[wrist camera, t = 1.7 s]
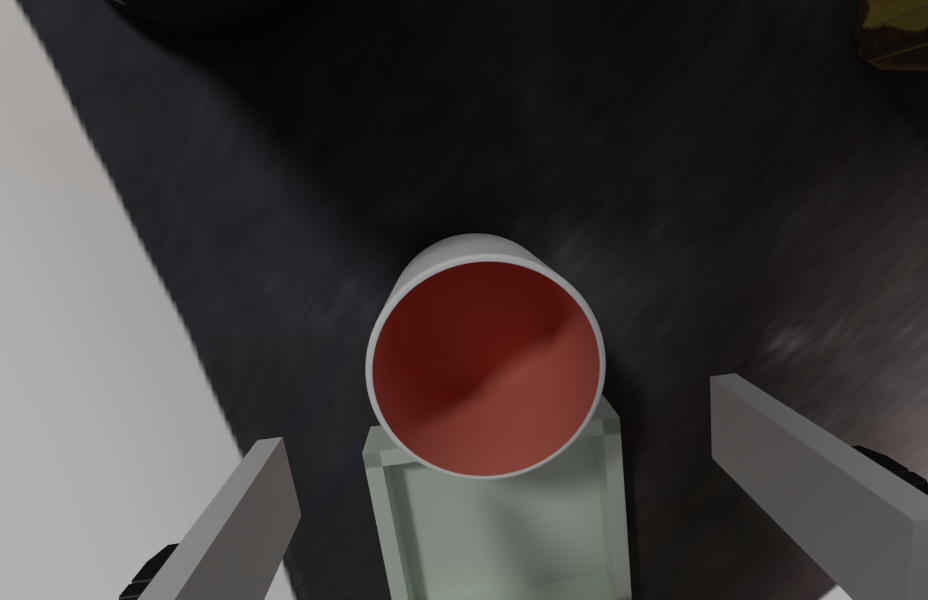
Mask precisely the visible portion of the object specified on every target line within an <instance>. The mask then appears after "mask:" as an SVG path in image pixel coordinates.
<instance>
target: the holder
mask: <svg viewBox="0 0 928 600" xmlns="http://www.w3.org/2000/svg"><path fill="white" fill-rule="evenodd" d="M362 454H363V459H364V464H365V469H366V474H367V479H368V484H369V489H370V494H371V499H372V504H373V509H374V514H375V519H376V523H377V528H378V533H379V538H380V543H381V548H382V553H383V558H384V563H385V568H386V573H387V578H388V583H389V588H390V593H391V598H392V600H632V596H631V581H630V566H629V551H628V536H627V521H626V506H625V491H624V476H623V460H622V445H621V430H620V417H619V416H618V415H617V413H616V412H615V411H614V409H613V408H612V407H611V405H610V404H609V403H608V401H607V400H606V399H605V397H604V396H603V395H601V397H600V400H599V403H598V405H597V408H596V410H595V412H594V414H593V416H592V418H591V420H590V421H589V423H588V425H587V426H586V427H585V429H584V430H583V432H582V433H581V434H580V435H579V437H578V438H577V439H576V440H575V441H574V442H573V443H572V444H571V445H570V446H569V447H568V448H567V449H566V450H565V451H564V452H562V453H561V454H560V455H558V456H557V457H555V458H554V459H553V460H551V461H549V462H548V463H546V464H544V465H542V466H541V467H539V468H536V469H534V470H532V471H530V472H527V473H524V474H521V475H518V476H514V477H509V478H505V479H497V480H468V479H462V478H456V477H452V476H448V475H445V474H442V473H439V472H437V471H434V470H432V469H430V468H428V467H426V466H424V465H422V464H420V463H419V462H417V461H416V460H414V459H413V458H411V457H410V456H409V455H407V454H406V453H405V452H404V451H403V450H401V449H400V448H399V447H398V446H397V445H396V444H395V443H394V442H393V440H392V439H391V438H390V437H389V436H388V434H387V433H386V432H385V430H384V429H383V427H382V425H381V426H374V427H370V431H369V434H368V437H367V440H366V443H365V447H364V450H363V453H362Z"/></svg>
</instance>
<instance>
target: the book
mask: <svg viewBox="0 0 928 600" xmlns="http://www.w3.org/2000/svg"><path fill="white" fill-rule="evenodd" d="M854 38H855V43H856V49H857V54H858V59H859V60H861V61H863V62H865V63H867V64H869V65H871V66H872V67H874V68H876V69H878V70H896V71H928V0H860V1H859V7H858V12H857V18H856V23H855V29H854Z"/></svg>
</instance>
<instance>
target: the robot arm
mask: <svg viewBox="0 0 928 600" xmlns="http://www.w3.org/2000/svg"><path fill="white" fill-rule="evenodd" d="M106 1H108V2H109V3H111V4H113V5H115V6H117V7H118V8H120V9H122V10H124V11H126V12H127V13H129V14H131V15H133V16H135V17H136V18H138V19H140V20H143V21H145V22H147V23H149V24H152V25H154V26H157V27H159V28H162V29H166V30H169V31H173V32H177V33H182V34H188V35H198V36H217V35H227V34H232V33H237V32H241V31H245V30H248V29H251V28H253V27H256V26H258V25H261V24H263V23H265V22H267V21H269V20H270V19H272V18H274V17H276V16H277V15H278V14H280V13H281V12H283V11H284V10H286V9H287V8H288V7H289V6H290V5H292V4H293V3H294V2H295V1H296V0H106ZM710 394H711V438H712V458H713V459H714V460H715V461H716V462H717V463H718V464H719V465H720V466H721V467H722V468H723V469H724V470H725V471H726V472H727V473H728V474H729V475H730V476H731V477H732V478H733V479H734V480H735V481H736V482H737V483H738V484H739V485H740V486H741V487H742V488H743V489H744V490H745V491H746V492H747V493H748V494H749V495H750V496H751V497H752V498H753V499H754V500H755V501H756V502H757V503H758V504H759V505H760V507H761V508H762V509H763V510H764V511H765V512H766V513H767V514H768V515H769V516H770V517H771V518H772V519H773V520H774V521H775V522H776V523H777V524H778V525H779V526H780V527H781V528H782V529H783V530H784V531H785V532H786V533H787V534H788V535H789V536H790V537H791V538H792V539H793V540H794V541H795V542H796V543H797V544H798V545H799V546H800V547H801V548H802V549H803V550H804V551H805V552H806V553H807V554H808V555H809V556H810V557H811V558H812V559H813V560H814V561H815V562H816V563H817V564H818V565H819V566H820V567H821V568H822V569H823V570H824V571H825V572H826V573H827V574H828V575H829V576H830V577H831V578H832V579H833V580H834V581H835V582H836V583H837V584H838V585H839V586H840V587H841V588H842V589H843V590H844V591H845V592H846V593H847V594H848V595H849V596H850V597H851V598H852V599H853V600H928V483H927V481H926V479H924V478H922V477H921V476H919V475H917V474H916V473H914V472H909V470H908V469H907V468H906V467H904V466H902V465H901V464H899V463H898V462H896V461H894V460H893V459H891V458H889V457H888V456H886V455H883V454H880V453H878V452H875V451H872V450H870V449H867V448H864V447H862V446H852V447H850V446H849V445H847V444H846V443H844V442H843V441H841V440H839V439H838V438H836V437H835V436H833V435H832V434H830V433H828V432H827V431H825V430H824V429H822V428H821V427H819V426H817V425H816V424H814V423H813V422H811V421H809V420H808V419H806V418H805V417H803V416H802V415H800V414H798V413H797V412H795V411H794V410H792V409H791V408H789V407H787V406H786V405H784V404H783V403H781V402H780V401H778V400H776V399H775V398H773V397H772V396H770V395H768V394H767V393H765V392H764V391H762V390H761V389H759V388H757V387H756V386H754V385H753V384H751V383H750V382H748V381H746V380H745V379H743V378H742V377H740V376H739V375H737V374H735V373H733V374H726V375H719V376H712V377H710ZM300 518H301V513H300V508H299V504H298V500H297V496H296V492H295V487H294V483H293V479H292V475H291V471H290V467H289V462H288V458H287V454H286V450H285V446H284V442H283V437H278V438H271V439H264V440H257V442H256V443H255V444H254V445H253V447H252V448H251V449H250V451H249V452H248V453H247V455H246V456H245V457H244V459H243V460H242V461H241V463H240V464H239V465H238V467H237V468H236V469H235V471H234V472H233V473H232V475H231V476H230V478H229V479H228V480H227V481H226V483H225V484H224V485H223V487H222V488H221V489H220V491H219V492H218V493H217V495H216V496H215V497H214V499H213V500H212V501H211V503H210V504H209V505H208V507H207V508H206V509H205V511H204V512H203V513H202V514H201V516H200V517H199V519H198V520H197V521H196V523H195V524H194V525H193V526H192V528H191V529H190V531H189V532H188V533H187V534H186V536H185V537H184V538H183V540H182V541H181V543H178V544H171V545H167V546H166V547H165V548H164V549H162V550H161V551H160V552H159V553H158V554H156V555H155V556H154V557H153V558H151V559H150V560H149V561H148V562H147V563H146V564H145V565H144V566H143V567H142V569H141V570H140V571H139V572H138V574H137V575H136V576H135V578H134V579H133V580H132V584H129V585H128V586H127V587H126V589H125V590H124V591H123V592H122V594H121V595H120V596H119V600H264V599H265V596H266V594H267V592H268V590H269V587H270V585H271V583H272V580H273V578H274V576H275V574H276V572H277V569H278V567H279V565H280V563H281V560H282V558H283V556H284V554H285V551H286V549H287V547H288V545H289V542H290V540H291V538H292V536H293V533H294V531H295V529H296V527H297V524H298V522H299V520H300Z"/></svg>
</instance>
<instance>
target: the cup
mask: <svg viewBox="0 0 928 600" xmlns="http://www.w3.org/2000/svg"><path fill="white" fill-rule="evenodd" d="M605 370H606V359H605V348H604V343H603V338H602V334H601V331H600V328H599V325H598V323H597V320H596V318H595V316H594V314H593V312H592V311H591V309H590V307H589V306H588V304H587V303H586V301H585V300H584V299H583V297H582V296H581V295H580V294H579V293H578V291H577V290H576V289H575V288H574V287H573V286H572V285H571V284H570V283H568V282H567V281H566V280H565V279H564V278H562V277H561V276H560V275H558V274H557V273H556V272H555V271H553V270H552V269H551V268H549V267H548V266H547V265H545V264H544V263H543V262H542V261H540V260H539V259H538V258H536V257H535V256H534V255H533V254H531V253H530V252H529V251H528V250H526V249H525V248H523V247H522V246H520V245H518V244H516V243H514V242H512V241H510V240H508V239H505V238H502V237H499V236H495V235H490V234H480V233H474V234H462V235H457V236H452V237H449V238H446V239H443V240H441V241H439V242H437V243H435V244H432V245H431V246H429V247H428V248H426V249H425V250H423V251H422V252H421V253H420V254H418V255H417V256H416V257H415V258H414V259H413V260H412V261H411V262H410V263H409V264H408V266H407V267H406V268H405V269H404V271H403V272H402V274H401V276H400V277H399V279H398V281H397V283H396V285H395V287H394V288H393V290H392V292H391V294H390V296H389V298H388V300H387V302H386V304H385V306H384V308H383V310H382V312H381V314H380V316H379V318H378V320H377V322H376V324H375V326H374V328H373V331H372V334H371V337H370V340H369V344H368V349H367V355H366V384H367V389H368V394H369V398H370V401H371V404H372V407H373V410H374V412H375V414H376V416H377V418H378V420H379V422H380V424H381V425H382V427H383V429H384V430H385V432H386V433H387V434H388V436H389V437H390V438H391V439H392V440H393V442H394V443H395V444H396V445H397V446H398V447H399V448H400V449H401V450H403V451H404V452H405V453H406V454H407V455H409V456H410V457H411V458H413V459H414V460H416V461H417V462H419V463H420V464H422V465H424V466H426V467H428V468H430V469H432V470H434V471H437V472H439V473H442V474H445V475H448V476H452V477H456V478H462V479H468V480H497V479H505V478H509V477H514V476H518V475H521V474H524V473H527V472H530V471H532V470H534V469H536V468H539V467H541V466H542V465H544V464H546V463H548V462H549V461H551V460H553V459H554V458H555V457H557V456H558V455H560V454H561V453H562V452H564V451H565V450H566V449H567V448H568V447H569V446H570V445H571V444H572V443H573V442H574V441H575V440H576V439H577V438H578V437H579V435H580V434H581V433H582V432H583V430H584V429H585V427H586V426H587V425H588V423H589V421H590V420H591V418H592V416H593V414H594V412H595V410H596V408H597V405H598V403H599V400H600V397H601V394H602V390H603V386H604V380H605Z"/></svg>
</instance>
